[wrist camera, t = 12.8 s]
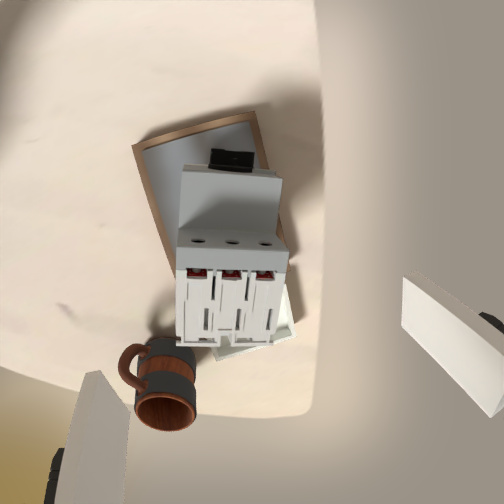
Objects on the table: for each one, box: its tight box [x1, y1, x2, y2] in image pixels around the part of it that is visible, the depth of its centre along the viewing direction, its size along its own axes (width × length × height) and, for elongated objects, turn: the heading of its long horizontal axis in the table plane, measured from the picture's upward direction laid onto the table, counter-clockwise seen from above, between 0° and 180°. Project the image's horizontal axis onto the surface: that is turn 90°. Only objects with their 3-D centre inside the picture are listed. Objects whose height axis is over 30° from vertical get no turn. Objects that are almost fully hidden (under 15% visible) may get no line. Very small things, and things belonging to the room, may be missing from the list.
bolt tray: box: [207, 282, 297, 361], centre depth 42 cm, size 12×9×3 cm
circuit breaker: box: [176, 148, 289, 347], centre depth 27 cm, size 8×14×15 cm, turn 174°
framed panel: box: [131, 111, 291, 280], centre depth 36 cm, size 14×20×3 cm
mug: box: [118, 337, 197, 431], centre depth 37 cm, size 9×12×12 cm
